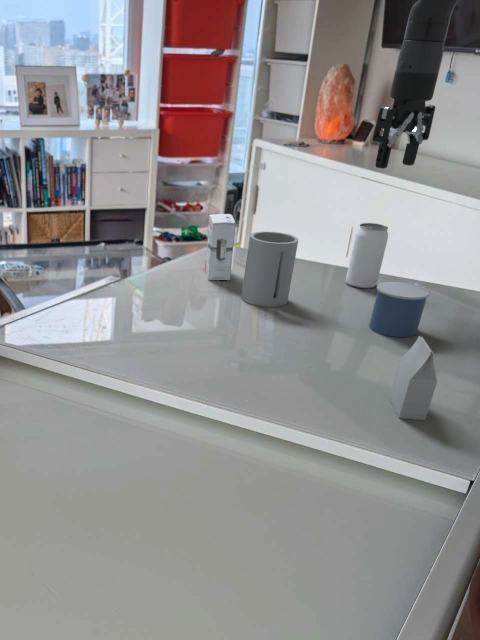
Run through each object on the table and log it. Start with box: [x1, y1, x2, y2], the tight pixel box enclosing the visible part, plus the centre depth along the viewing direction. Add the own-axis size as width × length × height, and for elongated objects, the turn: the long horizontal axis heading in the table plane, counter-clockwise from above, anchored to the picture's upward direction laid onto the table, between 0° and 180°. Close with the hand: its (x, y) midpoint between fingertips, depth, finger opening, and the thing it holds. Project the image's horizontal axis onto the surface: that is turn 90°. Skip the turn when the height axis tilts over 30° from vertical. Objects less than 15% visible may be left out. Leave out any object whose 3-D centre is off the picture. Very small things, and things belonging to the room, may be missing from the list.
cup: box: [240, 231, 299, 308], centre depth 149 cm, size 9×9×12 cm
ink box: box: [204, 213, 237, 281], centre depth 161 cm, size 9×5×12 cm, turn 178°
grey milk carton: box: [388, 335, 438, 421], centre depth 109 cm, size 4×7×10 cm, turn 173°
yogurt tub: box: [368, 281, 430, 338], centre depth 138 cm, size 9×9×7 cm
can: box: [345, 222, 389, 290], centre depth 159 cm, size 6×6×12 cm
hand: (394, 166), depth 147 cm, fingers open, 8 cm apart
